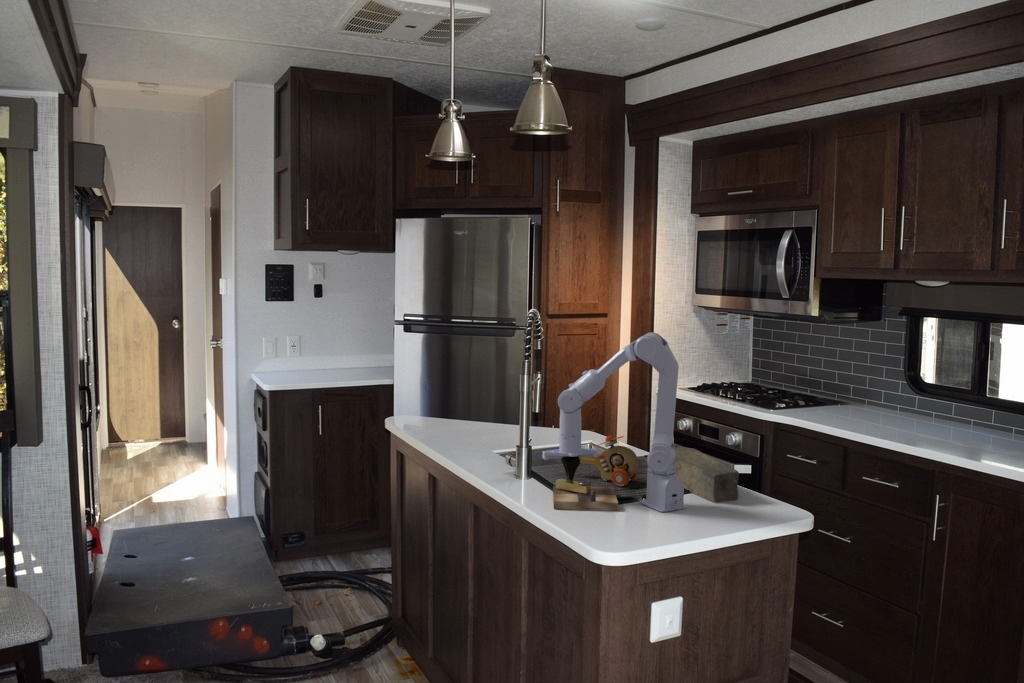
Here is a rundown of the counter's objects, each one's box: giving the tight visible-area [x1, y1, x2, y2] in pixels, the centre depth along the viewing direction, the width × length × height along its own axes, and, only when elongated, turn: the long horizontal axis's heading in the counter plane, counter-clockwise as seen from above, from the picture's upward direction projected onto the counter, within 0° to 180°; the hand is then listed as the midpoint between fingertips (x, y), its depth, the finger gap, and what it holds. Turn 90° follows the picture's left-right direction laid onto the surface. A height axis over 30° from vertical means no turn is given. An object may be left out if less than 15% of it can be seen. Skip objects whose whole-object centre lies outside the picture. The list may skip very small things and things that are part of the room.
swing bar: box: [555, 478, 592, 494], centre depth 215 cm, size 10×3×3 cm, turn 56°
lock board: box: [552, 485, 619, 512], centre depth 214 cm, size 16×14×5 cm
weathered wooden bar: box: [672, 446, 740, 504], centre depth 227 cm, size 10×26×10 cm, turn 24°
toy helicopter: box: [579, 435, 639, 486], centre depth 233 cm, size 8×21×14 cm, turn 60°
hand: (569, 484), depth 219 cm, fingers closed, pressing on swing bar
